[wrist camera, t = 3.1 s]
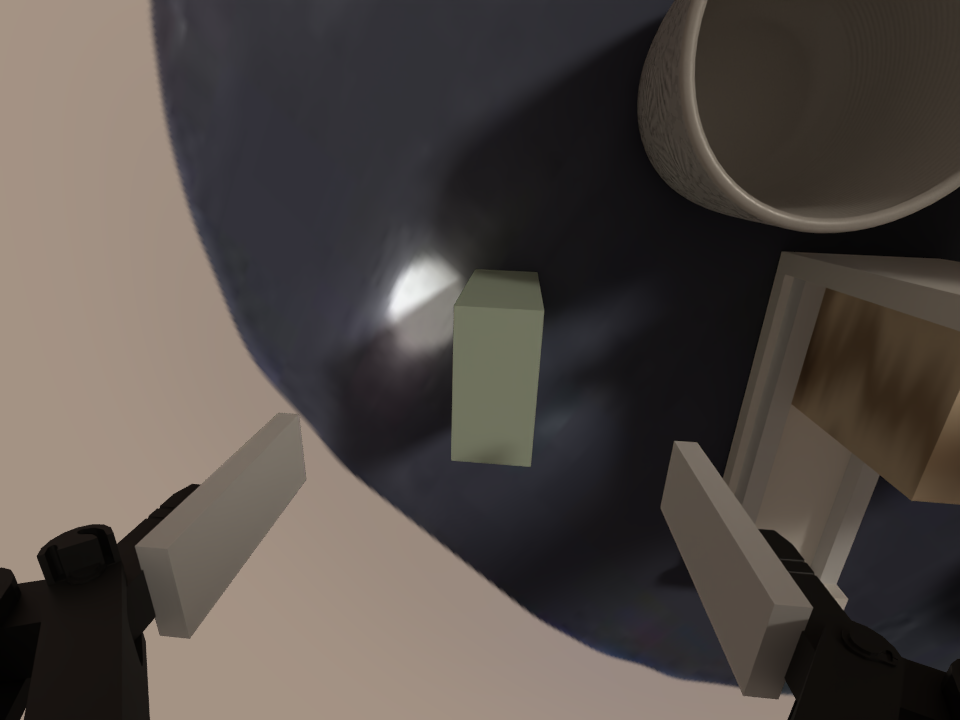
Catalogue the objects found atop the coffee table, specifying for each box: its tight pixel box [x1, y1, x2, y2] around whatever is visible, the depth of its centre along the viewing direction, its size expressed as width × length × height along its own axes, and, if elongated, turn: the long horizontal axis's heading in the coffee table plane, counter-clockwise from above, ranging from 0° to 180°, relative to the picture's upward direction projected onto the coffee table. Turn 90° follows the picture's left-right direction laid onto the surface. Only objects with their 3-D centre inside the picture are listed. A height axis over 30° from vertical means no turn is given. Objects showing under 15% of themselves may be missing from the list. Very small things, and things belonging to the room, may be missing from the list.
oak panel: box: [791, 288, 960, 504], centre depth 24 cm, size 8×4×10 cm, turn 178°
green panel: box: [451, 269, 544, 467], centre depth 27 cm, size 8×4×10 cm, turn 178°
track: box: [723, 251, 960, 610], centre depth 26 cm, size 24×9×13 cm, turn 178°
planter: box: [637, 0, 960, 233], centre depth 20 cm, size 12×12×11 cm
